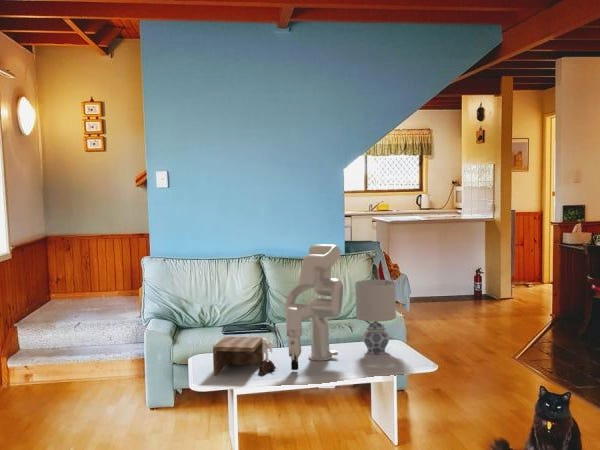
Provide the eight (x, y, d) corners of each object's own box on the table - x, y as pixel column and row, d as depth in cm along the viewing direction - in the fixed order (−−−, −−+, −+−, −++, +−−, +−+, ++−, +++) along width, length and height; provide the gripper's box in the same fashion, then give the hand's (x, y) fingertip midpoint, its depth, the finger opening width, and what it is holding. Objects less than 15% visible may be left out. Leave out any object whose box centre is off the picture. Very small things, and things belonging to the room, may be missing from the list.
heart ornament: (268, 372, 293) (281, 364, 287) (254, 383, 283) (267, 374, 277) (261, 361, 294) (274, 353, 288) (247, 372, 284) (259, 363, 278)
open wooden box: (263, 364, 298) (262, 337, 297) (254, 376, 278) (253, 347, 278) (225, 363, 301) (224, 336, 300) (213, 375, 281) (212, 346, 281)
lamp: (394, 358, 303) (393, 286, 301) (353, 356, 308) (352, 285, 306) (398, 347, 324) (397, 280, 322) (359, 346, 329) (358, 279, 327)
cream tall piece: (273, 357, 310) (272, 335, 309) (273, 359, 306) (273, 337, 305) (256, 358, 308) (255, 336, 308) (256, 360, 305) (255, 338, 304)
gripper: (299, 336, 275) (300, 374, 276) (303, 328, 290) (304, 365, 291) (283, 336, 277) (284, 374, 277) (288, 328, 291) (289, 364, 292)
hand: (294, 369), depth 284 cm, fingers closed
